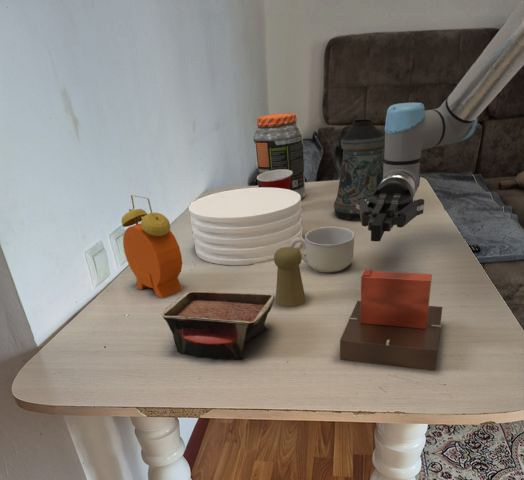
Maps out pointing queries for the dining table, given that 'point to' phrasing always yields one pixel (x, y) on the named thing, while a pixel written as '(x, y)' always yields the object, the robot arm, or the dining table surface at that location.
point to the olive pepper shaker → (289, 277)
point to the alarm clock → (152, 251)
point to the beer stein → (358, 166)
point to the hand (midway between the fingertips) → (375, 233)
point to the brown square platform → (392, 342)
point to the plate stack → (245, 224)
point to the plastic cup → (276, 179)
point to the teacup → (327, 248)
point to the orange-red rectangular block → (395, 299)
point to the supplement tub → (280, 148)
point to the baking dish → (217, 322)
